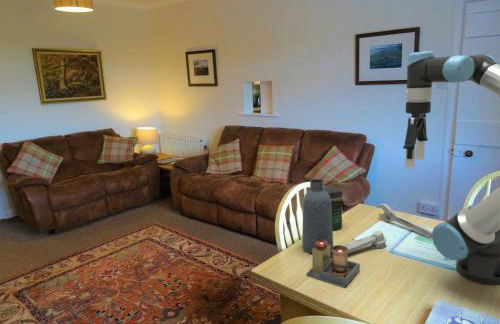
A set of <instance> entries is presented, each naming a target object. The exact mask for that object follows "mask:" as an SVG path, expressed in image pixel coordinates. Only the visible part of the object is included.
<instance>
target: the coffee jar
mask: <svg viewBox="0 0 500 324" xmlns="http://www.w3.org/2000/svg"><path fill="white" fill-rule="evenodd" d="M324 190H325V191H326V192H327V193H328V194H329V196H330V198H331V204H332V228H333V231H338V230H340V229H342V227H343V217H342V216H343V214H342V201H343V191H342V190H340V189H339V188H337V187H335V186H332V185H328V186H327V185H326V186H324Z"/></svg>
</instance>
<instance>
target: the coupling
mask: <svg viewBox="0 0 500 324" xmlns="http://www.w3.org/2000/svg"><path fill="white" fill-rule="evenodd" d="M348 255H349V254H348V248H347V247H345V246H342V245H339V244H338V245H333V247H332V258H331V259H332V274H334V275H337V276H340V277H345V276H347V275H348V269H347V260H348Z"/></svg>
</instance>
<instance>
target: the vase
mask: <svg viewBox="0 0 500 324" xmlns="http://www.w3.org/2000/svg"><path fill="white" fill-rule="evenodd" d="M324 183H325V181H324V180H323V179H319V178H313V179H311V180H310V181H309V190H307V192H306V193H305V194H304V196H303V200H302V201H303V202H302V233H301V234H302V236H301V237H302V238H301V239H302V240H301V242H302V243H301V245H302V249H303V250H304V252H306V253H308V254H311V255H312V249H313V248H314V247H315V246H316V245H315V240H317V239H325V240H327V242H328V244H329V245H330V250H332V247H333V246H334V233H333V231H334V230H333V228H332V204H331V198H330V196H329V194H328V193H327V192H326V191H325V190H324V187H325V184H324Z"/></svg>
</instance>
